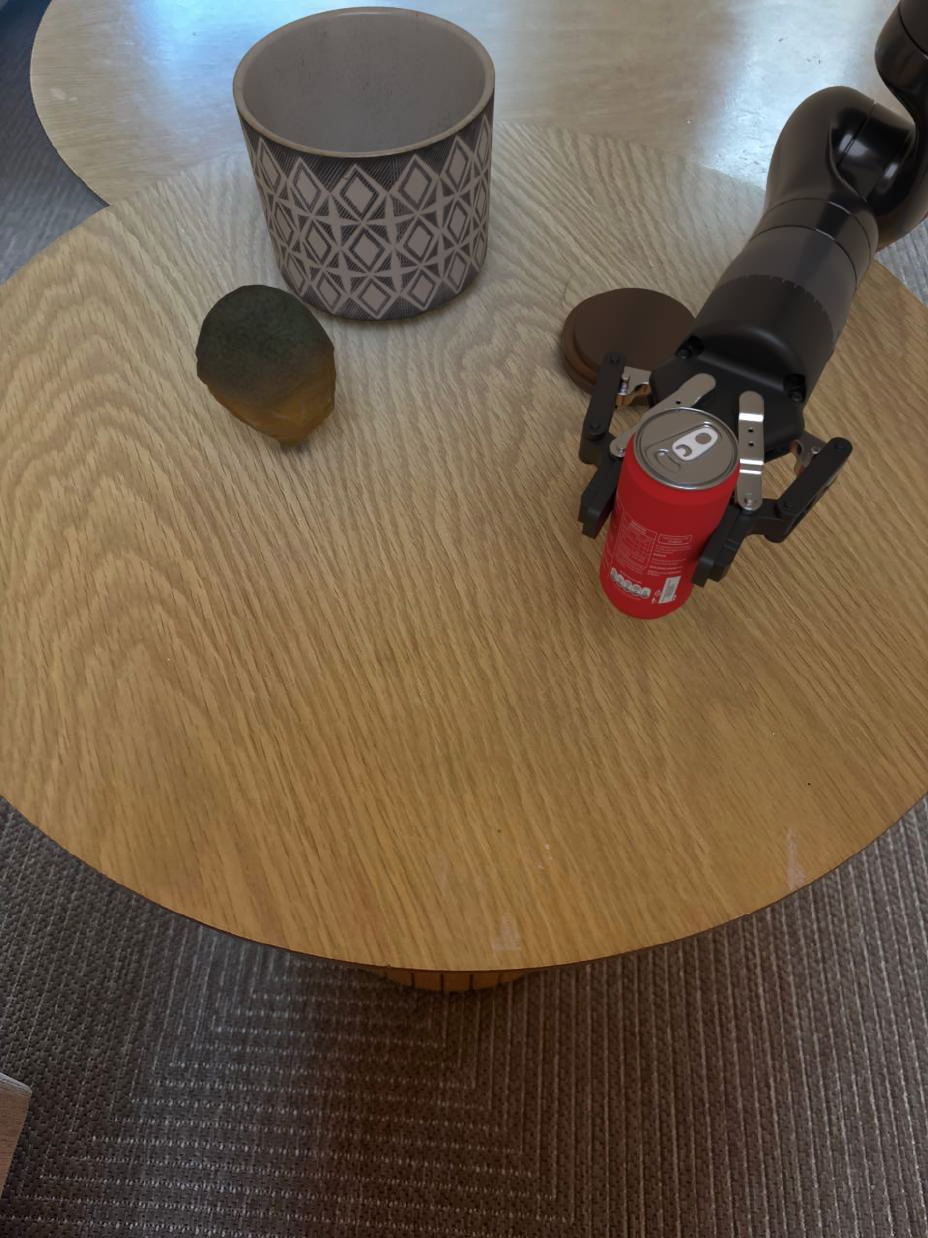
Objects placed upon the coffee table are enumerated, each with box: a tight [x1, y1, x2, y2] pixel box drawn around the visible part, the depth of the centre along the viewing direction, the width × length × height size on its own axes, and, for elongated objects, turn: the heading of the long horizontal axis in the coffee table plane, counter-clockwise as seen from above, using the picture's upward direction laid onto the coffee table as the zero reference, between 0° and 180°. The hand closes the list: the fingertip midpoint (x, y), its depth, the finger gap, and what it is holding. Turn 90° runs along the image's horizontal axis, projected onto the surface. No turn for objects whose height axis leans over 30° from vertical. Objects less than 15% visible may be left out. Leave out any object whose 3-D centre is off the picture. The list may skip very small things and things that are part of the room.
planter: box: [231, 5, 496, 322], centre depth 72 cm, size 19×19×16 cm
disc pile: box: [561, 287, 696, 406], centre depth 72 cm, size 11×11×3 cm
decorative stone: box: [194, 284, 337, 447], centre depth 62 cm, size 10×6×15 cm, turn 95°
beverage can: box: [598, 407, 741, 621], centre depth 45 cm, size 5×5×12 cm
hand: (644, 551), depth 43 cm, fingers closed on beverage can, 5 cm apart
